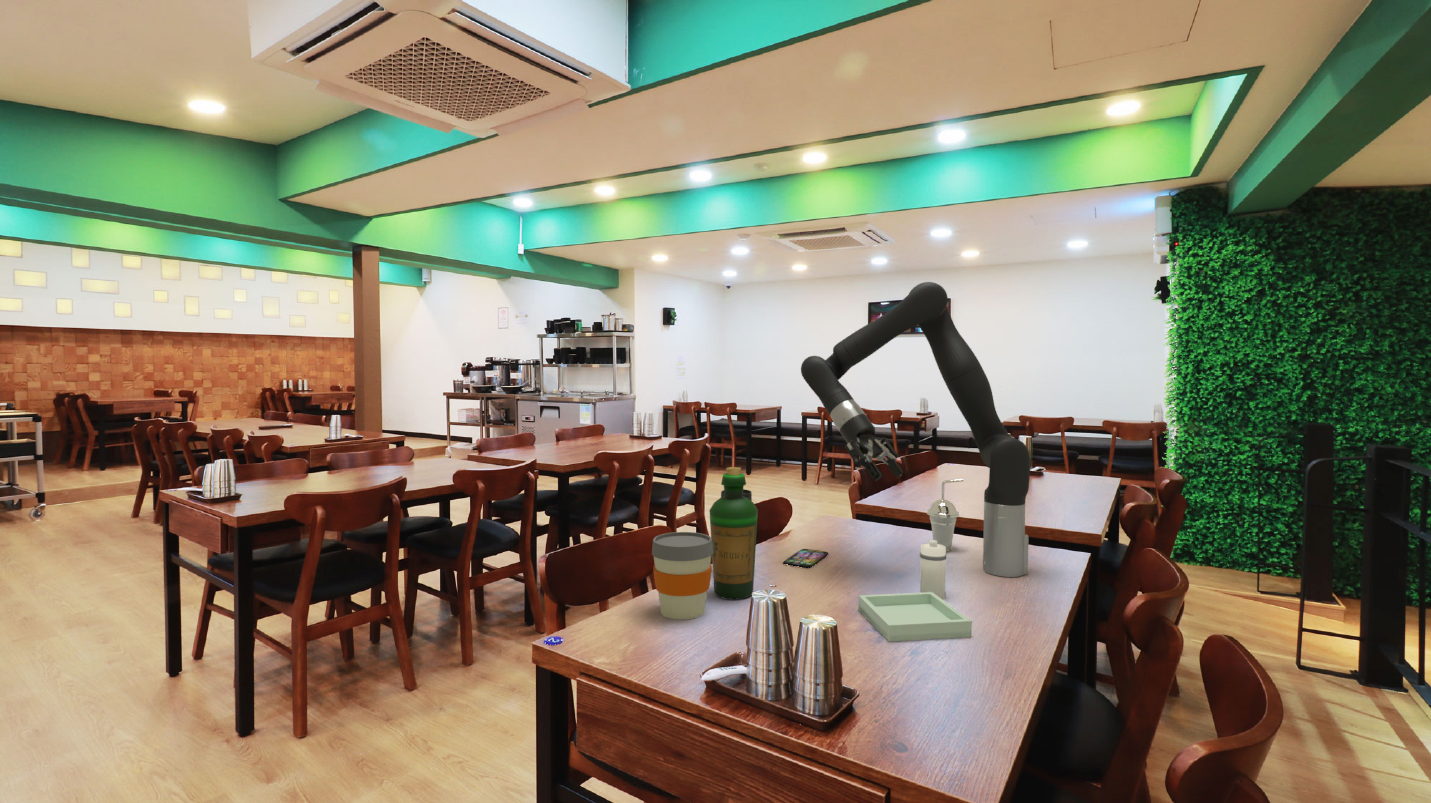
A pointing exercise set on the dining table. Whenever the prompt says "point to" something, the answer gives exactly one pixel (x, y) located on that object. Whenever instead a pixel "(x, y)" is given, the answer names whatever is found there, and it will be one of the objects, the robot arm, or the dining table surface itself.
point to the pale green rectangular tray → (914, 616)
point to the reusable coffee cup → (682, 573)
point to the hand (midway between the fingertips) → (889, 477)
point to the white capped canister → (933, 568)
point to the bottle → (733, 538)
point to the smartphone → (806, 558)
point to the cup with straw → (943, 519)
